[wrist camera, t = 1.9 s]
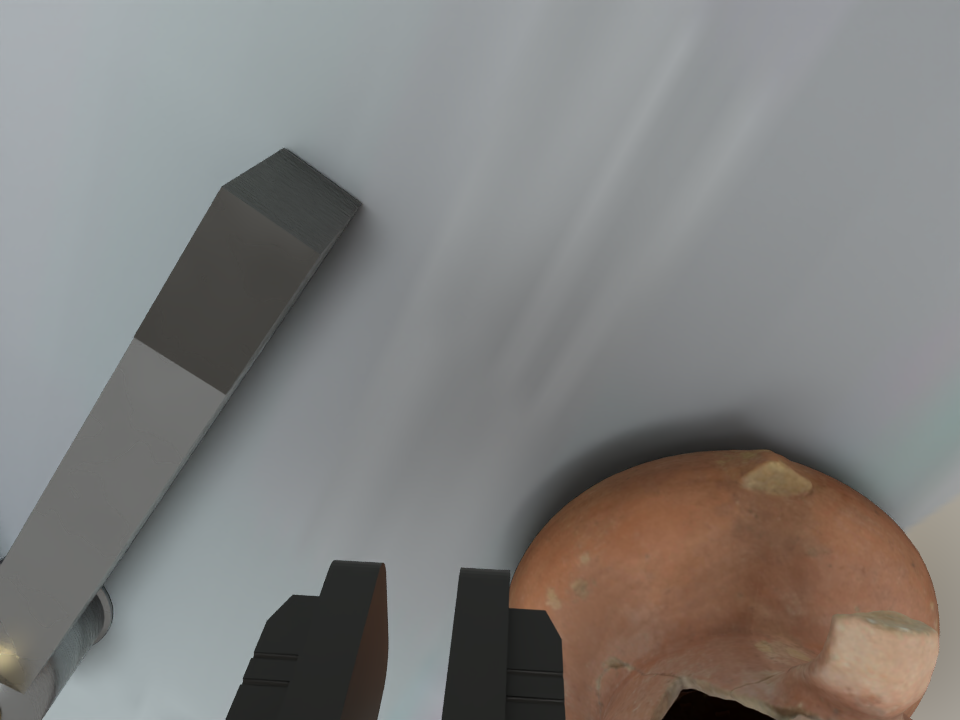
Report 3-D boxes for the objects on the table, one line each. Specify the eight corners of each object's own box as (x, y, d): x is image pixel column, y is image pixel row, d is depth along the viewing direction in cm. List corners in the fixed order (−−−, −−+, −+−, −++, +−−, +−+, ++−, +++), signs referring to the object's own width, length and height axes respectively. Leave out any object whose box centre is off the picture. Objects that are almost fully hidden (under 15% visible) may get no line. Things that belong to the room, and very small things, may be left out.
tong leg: (77, 664, 33) (3, 774, 29) (-28, 610, 32) (-123, 715, 28) (388, 222, 24) (354, 278, 19) (255, 127, 23) (184, 161, 18)
